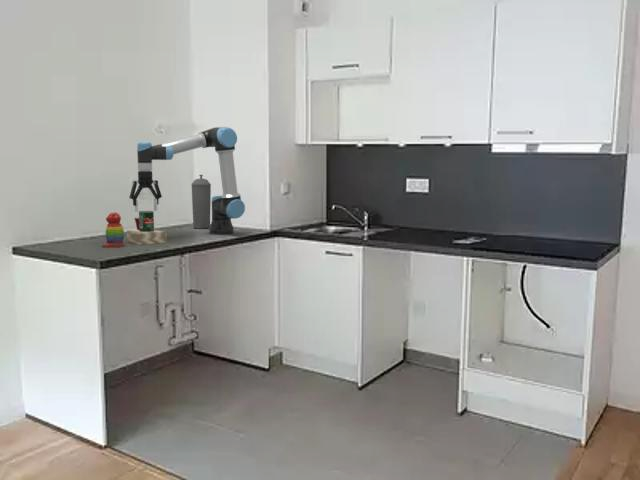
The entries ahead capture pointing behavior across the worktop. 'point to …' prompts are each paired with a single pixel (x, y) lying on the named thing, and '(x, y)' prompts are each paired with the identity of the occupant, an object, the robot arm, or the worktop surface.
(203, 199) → the canister
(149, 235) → the base block
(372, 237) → the worktop surface
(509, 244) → the worktop surface
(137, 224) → the plastic cup
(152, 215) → the canned tomato
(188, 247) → the worktop surface
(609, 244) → the worktop surface
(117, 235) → the stacking bear
